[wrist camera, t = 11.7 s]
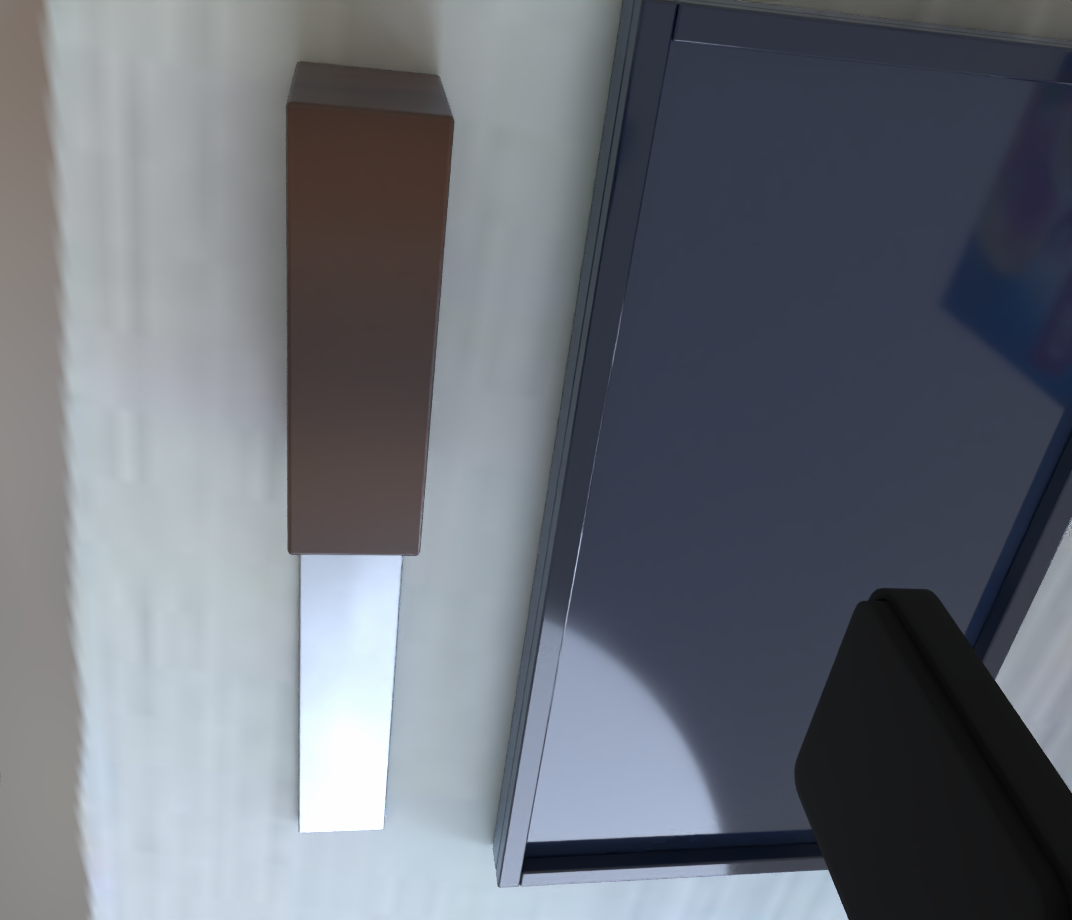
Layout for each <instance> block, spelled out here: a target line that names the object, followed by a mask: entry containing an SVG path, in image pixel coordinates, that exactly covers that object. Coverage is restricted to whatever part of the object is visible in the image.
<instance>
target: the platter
mask: <svg viewBox="0 0 1072 920" xmlns="http://www.w3.org/2000/svg"><path fill="white" fill-rule="evenodd" d="M1071 520H1072V41H1070V40H1062V39H1054V38H1045V37H1037V36H1029V35H1020V34H1012V33H1004V32H995V31H987V30H979V29H970V28H962V27H954V26H945V25H937V24H929V23H920V22H912V21H904V20H895V19H887V18H879V17H870V16H862V15H854V14H845V13H837V12H829V11H820V10H812V9H804V8H795V7H787V6H779V5H770V4H762V3H754V2H745V1H737V0H623V5H622V11H621V18H620V24H619V31H618V37H617V44H616V50H615V57H614V63H613V70H612V76H611V83H610V89H609V96H608V102H607V109H606V115H605V122H604V128H603V135H602V141H601V148H600V154H599V161H598V167H597V174H596V180H595V187H594V193H593V200H592V206H591V213H590V219H589V226H588V232H587V239H586V245H585V252H584V258H583V265H582V271H581V278H580V284H579V291H578V297H577V304H576V310H575V317H574V323H573V330H572V336H571V343H570V349H569V356H568V362H567V369H566V375H565V382H564V388H563V395H562V401H561V408H560V414H559V421H558V427H557V434H556V440H555V447H554V453H553V460H552V466H551V473H550V479H549V486H548V492H547V499H546V505H545V512H544V518H543V525H542V531H541V538H540V544H539V551H538V557H537V564H536V570H535V576H534V583H533V589H532V596H531V602H530V609H529V615H528V622H527V628H526V635H525V641H524V648H523V654H522V661H521V667H520V674H519V680H518V687H517V693H516V700H515V706H514V713H513V719H512V726H511V732H510V739H509V745H508V752H507V758H506V765H505V771H504V778H503V784H502V791H501V797H500V804H499V810H498V817H497V823H496V830H495V836H494V843H493V854H494V862H495V869H496V877H497V884H498V887H500V888H501V887H518V886H519V885H520V886H538V885H556V884H575V883H593V882H612V881H630V880H648V879H667V878H685V877H704V876H722V875H740V874H759V873H777V872H796V871H814V870H828V867H827V865H826V863H825V860H824V858H823V855H822V853H821V850H820V848H819V845H818V843H817V840H816V838H815V836H814V833H813V831H812V828H811V826H810V823H809V821H808V818H807V816H806V814H805V811H804V809H803V806H802V804H801V801H800V799H799V796H798V793H797V790H796V786H795V777H794V770H795V763H796V759H797V756H798V754H799V751H800V749H801V746H802V743H803V741H804V738H805V736H806V733H807V731H808V728H809V725H810V723H811V720H812V718H813V715H814V712H815V710H816V707H817V705H818V702H819V700H820V697H821V694H822V692H823V689H824V687H825V684H826V681H827V679H828V676H829V674H830V671H831V669H832V666H833V663H834V661H835V658H836V656H837V653H838V650H839V648H840V645H841V643H842V640H843V638H844V635H845V632H846V630H847V627H848V625H849V622H850V619H851V617H852V614H853V612H854V609H855V608H856V606H857V604H858V603H860V602H861V601H868V599H869V597H870V596H871V594H872V593H873V592H874V591H875V590H876V589H880V588H905V589H928V590H930V591H932V592H934V594H935V595H936V596H937V597H938V598H939V599H940V601H941V602H942V604H943V605H944V607H945V608H946V609H947V611H948V612H949V614H950V615H951V617H952V618H953V620H954V621H955V623H956V624H957V626H958V627H959V629H960V630H961V631H962V633H963V634H964V636H965V637H966V639H967V640H968V642H969V643H970V645H971V646H972V648H973V649H974V650H975V652H976V653H977V655H978V656H979V658H980V659H981V661H982V662H983V664H984V665H985V667H986V668H987V670H988V671H989V672H990V674H991V675H992V677H993V678H994V680H995V679H996V676H997V674H998V672H999V670H1000V668H1001V666H1002V664H1003V662H1004V660H1005V658H1006V656H1007V653H1008V651H1009V649H1010V647H1011V645H1012V643H1013V641H1014V639H1015V637H1016V635H1017V633H1018V631H1019V628H1020V626H1021V624H1022V622H1023V620H1024V618H1025V616H1026V614H1027V612H1028V610H1029V608H1030V605H1031V603H1032V601H1033V599H1034V597H1035V595H1036V593H1037V591H1038V589H1039V587H1040V585H1041V582H1042V580H1043V578H1044V576H1045V574H1046V572H1047V570H1048V568H1049V566H1050V564H1051V562H1052V560H1053V557H1054V555H1055V553H1056V551H1057V549H1058V547H1059V545H1060V543H1061V541H1062V539H1063V537H1064V534H1065V532H1066V530H1067V528H1068V526H1069V524H1070V522H1071Z"/></svg>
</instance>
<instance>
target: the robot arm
mask: <svg viewBox="0 0 1072 920" xmlns="http://www.w3.org/2000/svg"><path fill="white" fill-rule="evenodd" d="M794 777H795V786H796V790H797V793H798V796H799V799H800V801H801V804H802V806H803V809H804V811H805V814H806V816H807V818H808V821H809V823H810V826H811V828H812V831H813V833H814V836H815V838H816V840H817V843H818V845H819V848H820V850H821V853H822V855H823V858H824V860H825V863H826V865H827V867H828V870H829V872H830V875H831V877H832V880H833V882H834V885H835V887H836V890H837V892H838V894H839V897H840V899H841V902H842V904H843V907H844V909H845V912H846V914H847V917H848V919H849V920H1072V793H1071V791H1070V790H1069V788H1068V787H1067V785H1066V784H1065V782H1064V781H1063V780H1062V778H1061V777H1060V775H1059V774H1058V772H1057V771H1056V769H1055V768H1054V766H1053V765H1052V763H1051V762H1050V760H1049V759H1048V758H1047V756H1046V755H1045V753H1044V752H1043V750H1042V749H1041V747H1040V746H1039V744H1038V743H1037V741H1036V740H1035V738H1034V737H1033V736H1032V734H1031V733H1030V731H1029V730H1028V728H1027V727H1026V725H1025V724H1024V722H1023V721H1022V719H1021V718H1020V716H1019V715H1018V714H1017V712H1016V711H1015V709H1014V708H1013V706H1012V705H1011V703H1010V702H1009V700H1008V699H1007V697H1006V696H1005V694H1004V693H1003V692H1002V690H1001V689H1000V687H999V686H998V684H997V683H996V681H995V680H994V678H993V677H992V675H991V674H990V672H989V671H988V670H987V668H986V667H985V665H984V664H983V662H982V661H981V659H980V658H979V656H978V655H977V653H976V652H975V650H974V649H973V648H972V646H971V645H970V643H969V642H968V640H967V639H966V637H965V636H964V634H963V633H962V631H961V630H960V629H959V627H958V626H957V624H956V623H955V621H954V620H953V618H952V617H951V615H950V614H949V612H948V611H947V609H946V608H945V607H944V605H943V604H942V602H941V601H940V599H939V598H938V597H937V596H936V595H935V594H934V592H932V591H930V590H928V589H905V588H880V589H876V590H875V591H874V592H873V593H872V594H871V596H870V597H869V599H868V601H861V602H860V603H858V604H857V606H856V608H855V609H854V612H853V614H852V617H851V619H850V622H849V625H848V627H847V630H846V632H845V635H844V638H843V640H842V643H841V645H840V648H839V650H838V653H837V656H836V658H835V661H834V663H833V666H832V669H831V671H830V674H829V676H828V679H827V681H826V684H825V687H824V689H823V692H822V694H821V697H820V700H819V702H818V705H817V707H816V710H815V712H814V715H813V718H812V720H811V723H810V725H809V728H808V731H807V733H806V736H805V738H804V741H803V743H802V746H801V749H800V751H799V754H798V756H797V759H796V763H795V770H794Z"/></svg>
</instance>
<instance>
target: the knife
mask: <svg viewBox="0 0 1072 920" xmlns="http://www.w3.org/2000/svg"><path fill="white" fill-rule="evenodd" d="M453 132H454V119H453V116H452V113H451V109H450V106H449V103H448V100H447V97H446V94H445V91H444V88H443V85H442V82H441V79H440V77H439V76H437V75H431V74H421V73H411V72H401V71H391V70H381V69H371V68H361V67H351V66H341V65H331V64H320V63H310V62H298V63H297V65H296V68H295V72H294V76H293V80H292V84H291V88H290V92H289V96H288V100H287V104H286V243H287V530H288V552H289V554H291V555H300V595H299V833H312V832H336V831H359V830H383V829H384V823H385V808H386V794H387V779H388V765H389V751H390V736H391V722H392V707H393V693H394V678H395V664H396V649H397V635H398V620H399V606H400V591H401V577H402V562H403V556H417V555H418V554H419V553H420V547H421V534H422V522H423V509H424V497H425V484H426V471H427V459H428V446H429V434H430V421H431V409H432V396H433V383H434V371H435V358H436V346H437V333H438V321H439V308H440V296H441V283H442V270H443V258H444V245H445V233H446V220H447V208H448V195H449V183H450V170H451V157H452V145H453Z"/></svg>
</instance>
